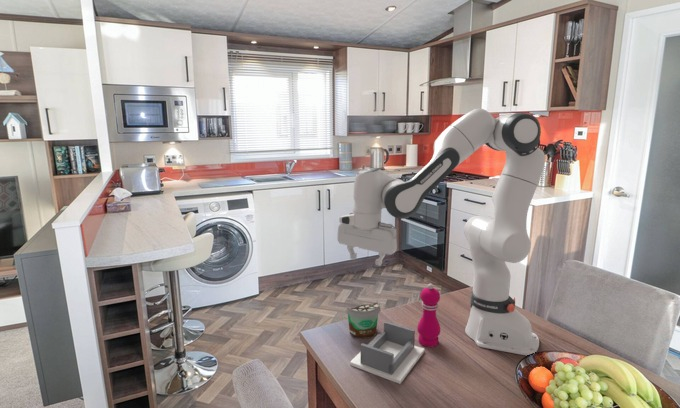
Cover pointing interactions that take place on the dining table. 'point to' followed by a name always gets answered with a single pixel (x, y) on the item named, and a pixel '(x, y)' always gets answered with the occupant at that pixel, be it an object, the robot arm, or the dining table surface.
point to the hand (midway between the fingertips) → (365, 261)
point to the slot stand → (389, 353)
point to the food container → (363, 320)
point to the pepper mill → (429, 317)
